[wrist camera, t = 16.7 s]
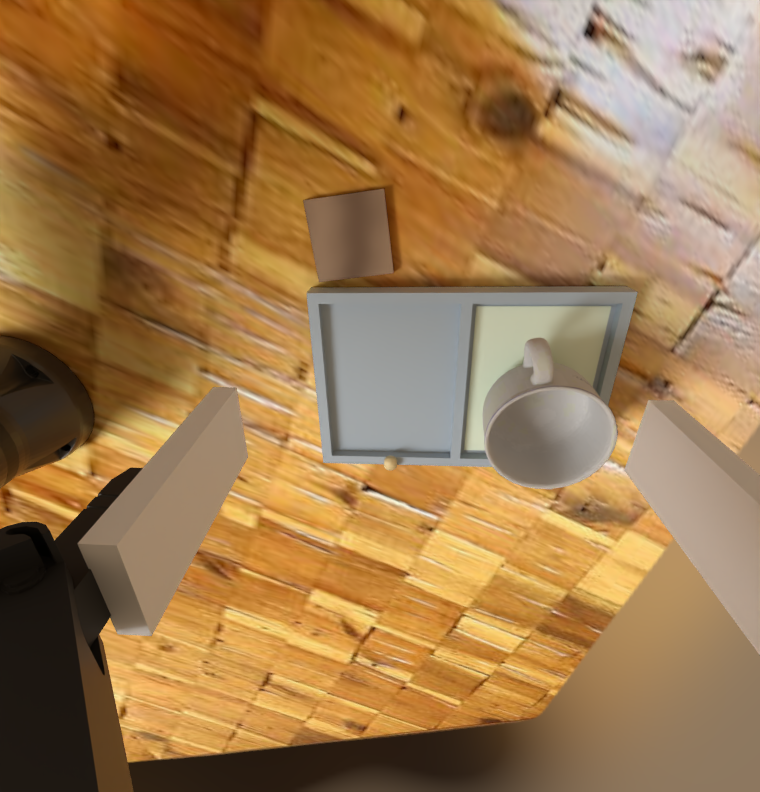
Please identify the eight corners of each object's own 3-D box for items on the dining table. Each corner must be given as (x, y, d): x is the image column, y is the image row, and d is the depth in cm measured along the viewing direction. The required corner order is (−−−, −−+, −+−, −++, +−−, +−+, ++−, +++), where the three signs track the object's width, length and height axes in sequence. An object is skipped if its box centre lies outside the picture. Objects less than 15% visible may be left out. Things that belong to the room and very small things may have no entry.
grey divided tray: (327, 452, 50) (322, 468, 47) (311, 287, 41) (304, 295, 38) (583, 458, 48) (593, 475, 45) (626, 286, 39) (642, 294, 36)
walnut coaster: (321, 279, 41) (319, 282, 40) (306, 199, 38) (303, 200, 37) (394, 270, 40) (393, 273, 39) (384, 188, 37) (383, 188, 36)
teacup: (574, 442, 46) (604, 493, 39) (471, 443, 47) (481, 492, 39) (599, 315, 39) (641, 348, 32) (479, 318, 40) (493, 350, 33)
